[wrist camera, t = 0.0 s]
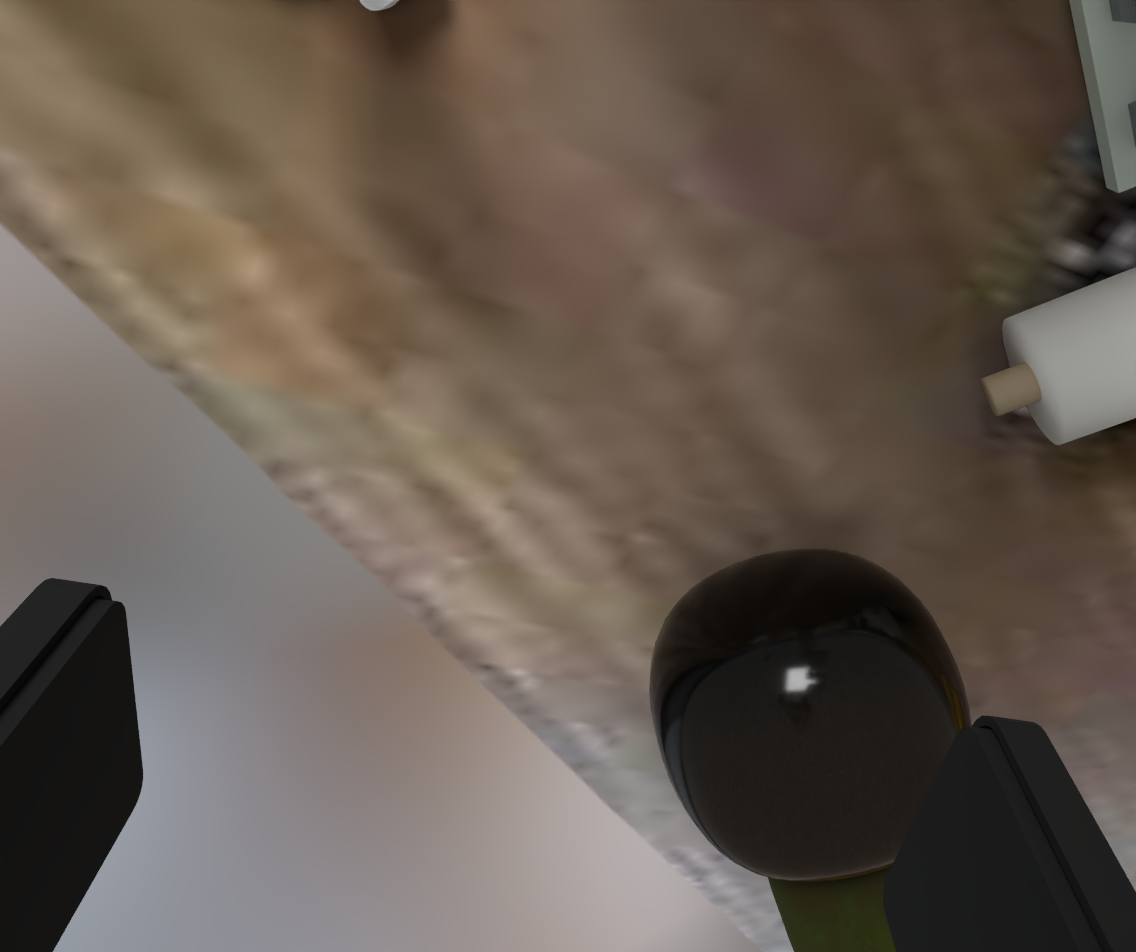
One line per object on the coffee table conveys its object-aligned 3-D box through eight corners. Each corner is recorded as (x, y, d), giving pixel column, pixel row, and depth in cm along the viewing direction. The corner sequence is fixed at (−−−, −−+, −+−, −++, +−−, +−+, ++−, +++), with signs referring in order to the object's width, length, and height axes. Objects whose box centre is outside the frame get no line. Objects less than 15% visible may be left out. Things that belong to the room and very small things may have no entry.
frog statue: (865, 483, 56) (960, 835, 61) (623, 553, 59) (731, 887, 63) (970, 581, 38) (1095, 1074, 42) (612, 676, 40) (766, 1135, 45)
